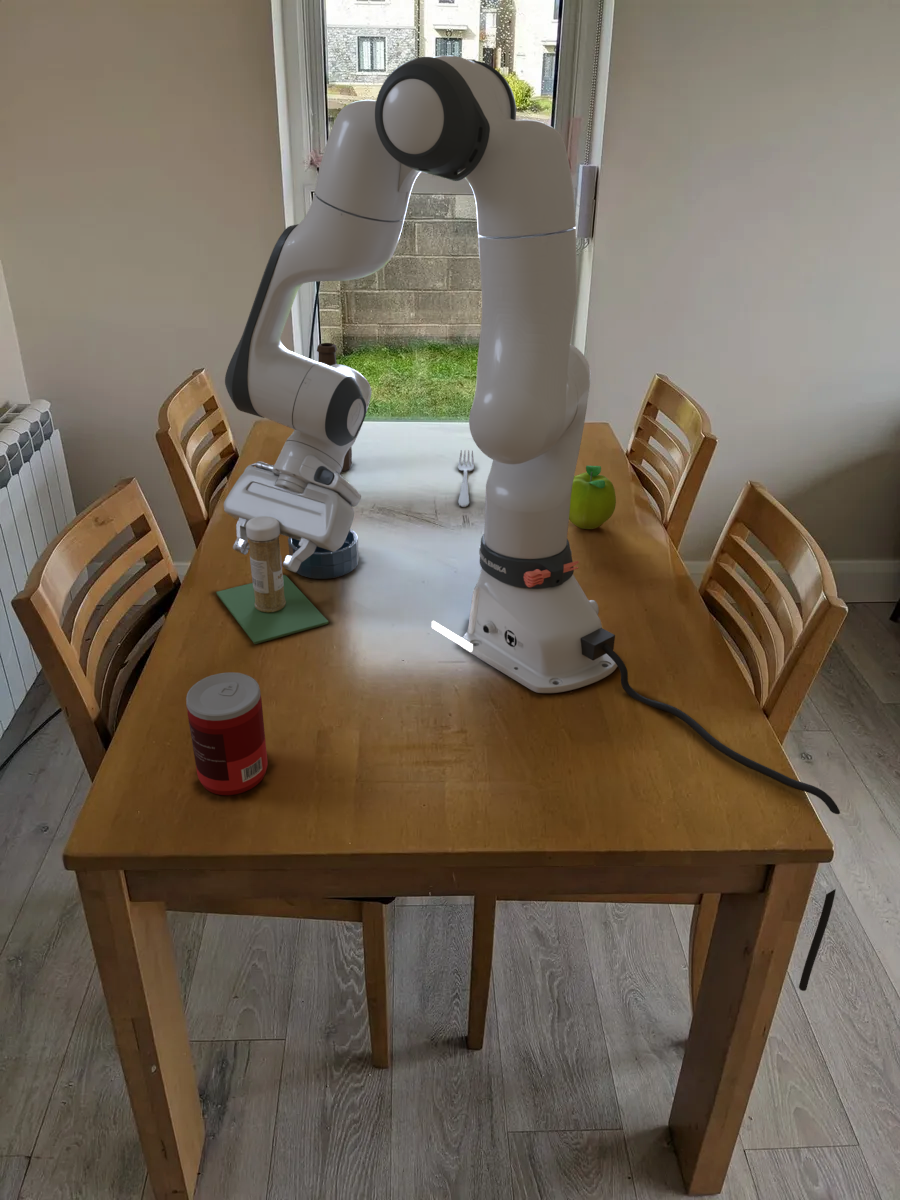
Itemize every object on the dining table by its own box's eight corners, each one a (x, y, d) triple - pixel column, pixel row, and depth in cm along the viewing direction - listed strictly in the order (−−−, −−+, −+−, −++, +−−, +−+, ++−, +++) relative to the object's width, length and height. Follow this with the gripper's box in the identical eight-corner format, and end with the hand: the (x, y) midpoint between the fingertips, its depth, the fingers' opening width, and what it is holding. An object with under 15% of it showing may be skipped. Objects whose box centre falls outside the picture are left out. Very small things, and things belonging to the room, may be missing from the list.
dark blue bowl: (370, 570, 145) (369, 544, 143) (306, 586, 140) (304, 560, 138) (340, 543, 153) (339, 518, 151) (279, 557, 148) (277, 532, 146)
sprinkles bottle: (291, 608, 134) (284, 524, 127) (261, 617, 131) (253, 531, 125) (278, 595, 137) (270, 512, 130) (249, 603, 135) (240, 519, 128)
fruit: (611, 515, 164) (617, 462, 159) (614, 538, 156) (620, 483, 151) (559, 512, 165) (563, 460, 160) (559, 535, 157) (564, 480, 152)
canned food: (272, 750, 106) (264, 671, 101) (263, 797, 100) (253, 715, 94) (205, 750, 106) (194, 671, 101) (191, 798, 99) (178, 715, 94)
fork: (454, 506, 166) (454, 497, 165) (458, 458, 187) (458, 449, 186) (472, 507, 166) (472, 498, 165) (474, 458, 187) (474, 450, 186)
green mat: (328, 623, 131) (328, 621, 131) (254, 644, 126) (254, 642, 126) (285, 576, 143) (285, 574, 142) (216, 594, 138) (216, 591, 137)
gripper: (239, 449, 134) (197, 533, 132) (350, 480, 125) (306, 572, 122) (263, 468, 140) (223, 550, 137) (371, 499, 130) (330, 588, 128)
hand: (263, 560), depth 130 cm, fingers open, 8 cm apart
